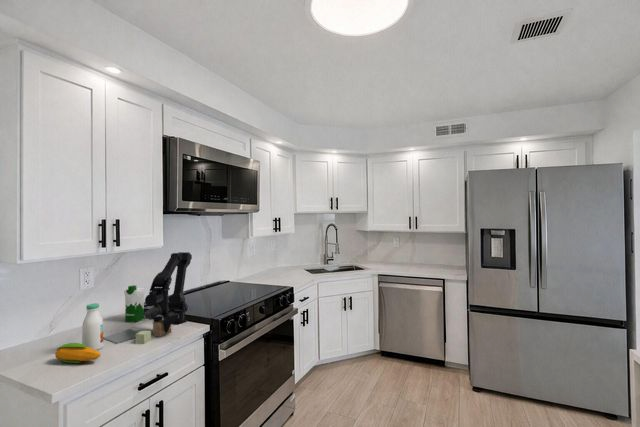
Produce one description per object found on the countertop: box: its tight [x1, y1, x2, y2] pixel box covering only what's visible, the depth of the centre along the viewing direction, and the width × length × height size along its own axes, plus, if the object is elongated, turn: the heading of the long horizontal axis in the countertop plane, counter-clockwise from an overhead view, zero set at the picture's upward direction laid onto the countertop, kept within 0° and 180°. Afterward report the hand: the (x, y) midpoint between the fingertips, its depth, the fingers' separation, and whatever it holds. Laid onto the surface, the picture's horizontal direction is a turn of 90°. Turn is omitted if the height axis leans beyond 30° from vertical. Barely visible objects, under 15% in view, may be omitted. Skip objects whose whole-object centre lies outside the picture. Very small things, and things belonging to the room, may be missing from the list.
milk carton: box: [123, 284, 146, 323], centre depth 184 cm, size 9×9×20 cm
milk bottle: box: [81, 303, 104, 351], centre depth 144 cm, size 8×8×20 cm
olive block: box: [135, 330, 152, 345], centre depth 152 cm, size 4×4×4 cm
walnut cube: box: [152, 318, 172, 337], centre depth 163 cm, size 6×6×6 cm
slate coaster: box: [103, 328, 140, 345], centre depth 159 cm, size 13×13×1 cm
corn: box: [54, 342, 102, 364], centre depth 132 cm, size 7×8×20 cm
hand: (162, 331), depth 163 cm, fingers closed on walnut cube, 6 cm apart
